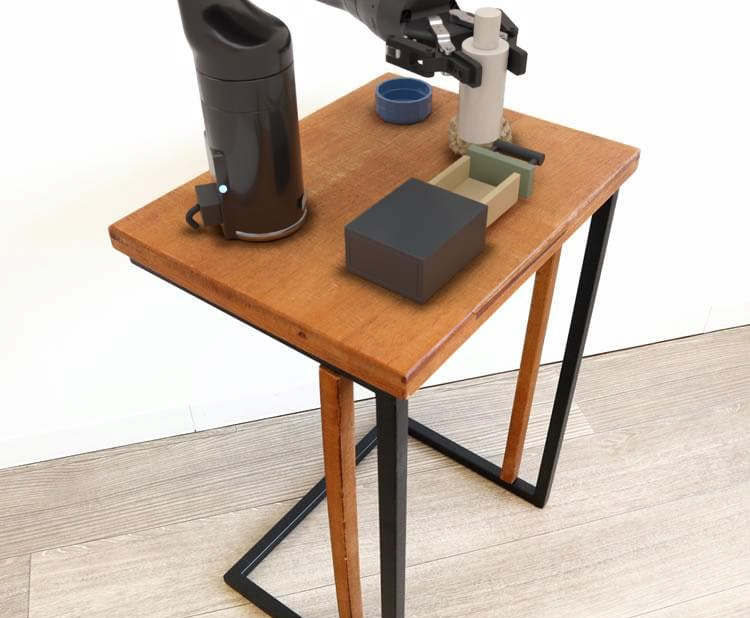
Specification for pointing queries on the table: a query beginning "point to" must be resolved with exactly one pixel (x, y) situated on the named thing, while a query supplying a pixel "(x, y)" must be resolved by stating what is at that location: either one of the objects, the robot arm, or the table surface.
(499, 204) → the drawer
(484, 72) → the bottle
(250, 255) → the table surface
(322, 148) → the table surface
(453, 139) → the seashell
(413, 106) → the bowl
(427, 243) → the cabinet
